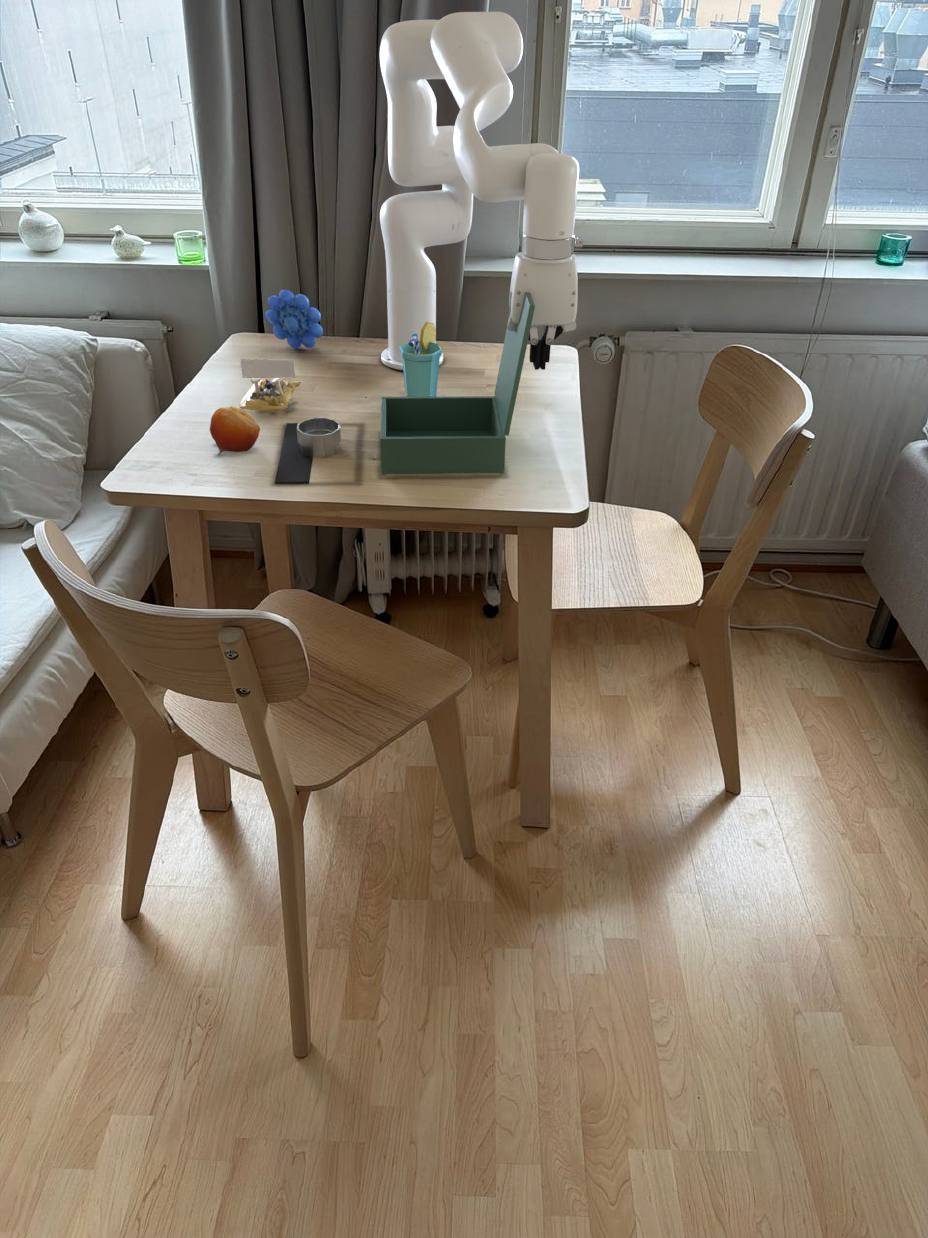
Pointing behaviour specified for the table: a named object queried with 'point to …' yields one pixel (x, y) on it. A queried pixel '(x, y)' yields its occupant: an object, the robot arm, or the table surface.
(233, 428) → the fruit
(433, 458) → the open green box
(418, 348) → the cup
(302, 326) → the blue flower
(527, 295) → the lid
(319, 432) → the bowl
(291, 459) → the mat
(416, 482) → the table surface
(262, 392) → the cake
